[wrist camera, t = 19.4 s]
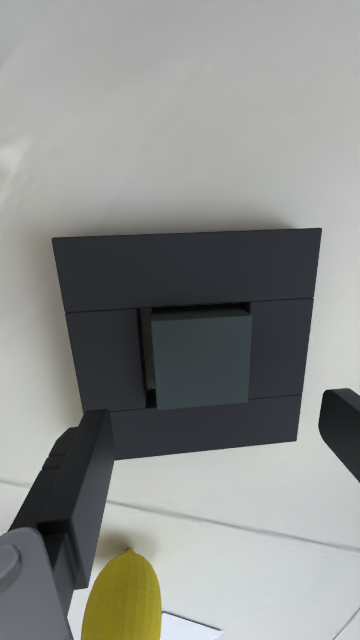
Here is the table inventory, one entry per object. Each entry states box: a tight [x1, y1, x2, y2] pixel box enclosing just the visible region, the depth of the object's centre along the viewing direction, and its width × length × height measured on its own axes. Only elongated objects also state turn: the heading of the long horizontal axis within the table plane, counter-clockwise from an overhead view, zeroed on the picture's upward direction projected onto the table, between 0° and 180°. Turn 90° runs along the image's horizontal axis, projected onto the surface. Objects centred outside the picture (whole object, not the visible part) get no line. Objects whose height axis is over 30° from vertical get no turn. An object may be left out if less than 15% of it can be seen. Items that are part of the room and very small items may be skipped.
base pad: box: [52, 228, 322, 460], centre depth 15 cm, size 14×14×2 cm
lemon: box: [81, 549, 162, 640], centre depth 17 cm, size 6×6×8 cm
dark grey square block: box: [151, 303, 252, 410], centre depth 15 cm, size 5×5×3 cm
